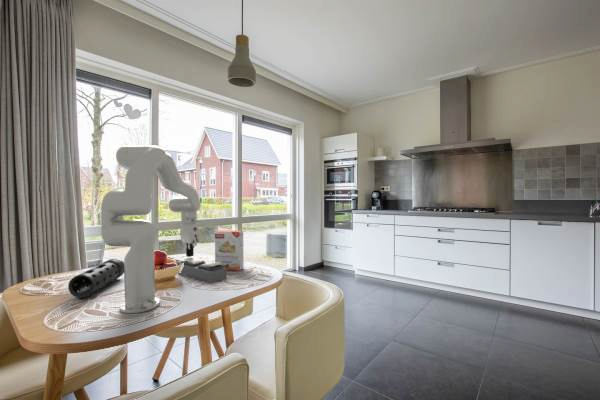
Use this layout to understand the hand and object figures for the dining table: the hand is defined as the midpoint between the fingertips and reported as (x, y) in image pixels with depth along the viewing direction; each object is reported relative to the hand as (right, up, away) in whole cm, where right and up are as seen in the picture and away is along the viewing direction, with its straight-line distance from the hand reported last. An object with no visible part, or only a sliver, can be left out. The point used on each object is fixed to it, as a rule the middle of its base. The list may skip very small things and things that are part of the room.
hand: (189, 256), depth 146 cm
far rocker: (+2, -2, -2) cm, 4 cm away
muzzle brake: (-30, -10, -23) cm, 39 cm away
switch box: (+8, -9, -6) cm, 13 cm away
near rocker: (+14, -3, -10) cm, 17 cm away
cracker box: (+19, -9, +6) cm, 22 cm away
